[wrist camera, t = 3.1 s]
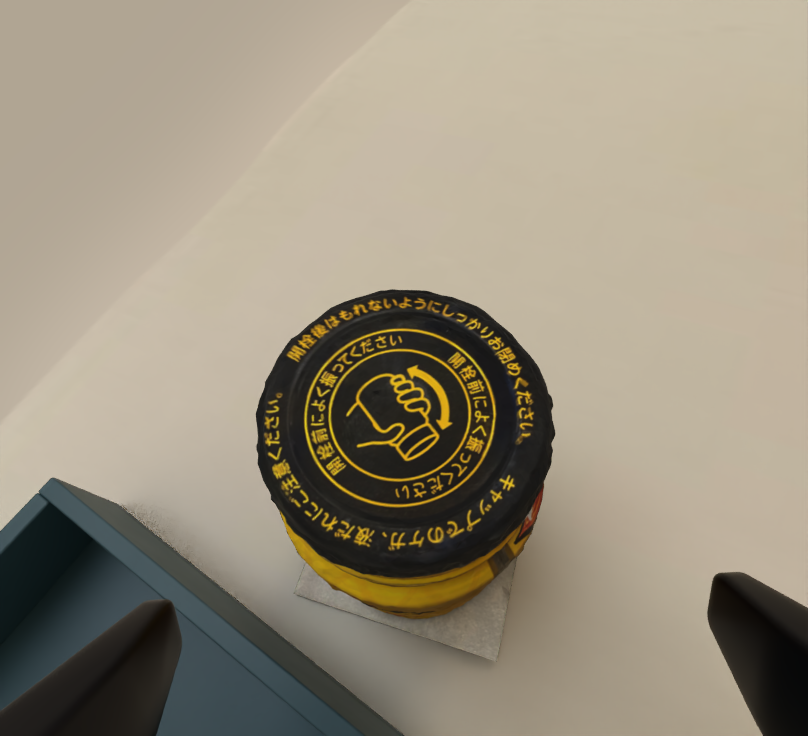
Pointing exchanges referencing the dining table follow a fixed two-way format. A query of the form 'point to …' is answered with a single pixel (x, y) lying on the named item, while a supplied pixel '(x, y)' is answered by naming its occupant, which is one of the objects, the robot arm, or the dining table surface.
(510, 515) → the condiment
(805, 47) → the dining table surface
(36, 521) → the tote
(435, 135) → the dining table surface
